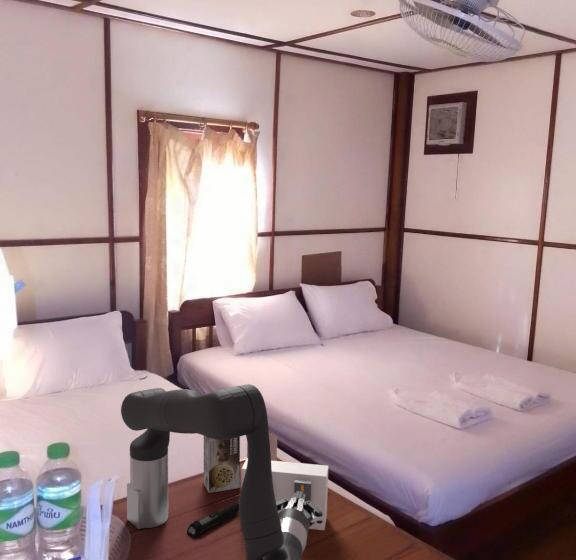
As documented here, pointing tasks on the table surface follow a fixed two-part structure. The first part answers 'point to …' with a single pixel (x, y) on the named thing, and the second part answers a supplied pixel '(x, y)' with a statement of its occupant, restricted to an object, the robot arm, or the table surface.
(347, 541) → the table surface
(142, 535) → the table surface
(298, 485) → the outer rocker
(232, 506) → the electric trimmer
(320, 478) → the white switch box
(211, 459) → the coffee box
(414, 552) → the table surface
